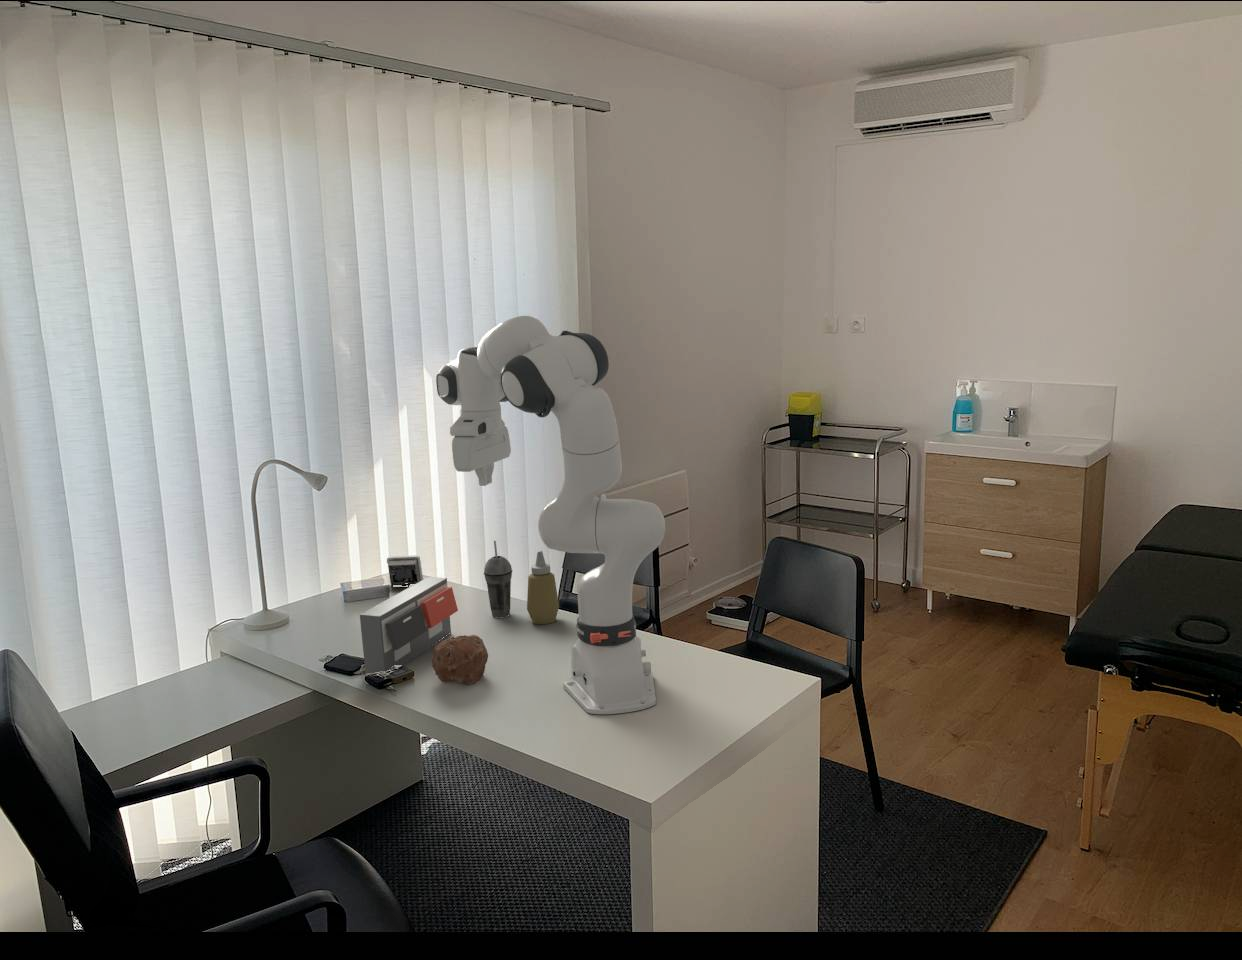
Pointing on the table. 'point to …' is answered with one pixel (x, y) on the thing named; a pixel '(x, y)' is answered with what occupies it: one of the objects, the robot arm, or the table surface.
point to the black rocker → (406, 627)
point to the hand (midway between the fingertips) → (485, 484)
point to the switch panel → (375, 619)
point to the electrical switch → (404, 570)
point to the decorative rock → (460, 659)
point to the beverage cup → (498, 584)
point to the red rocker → (439, 607)
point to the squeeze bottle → (542, 593)
